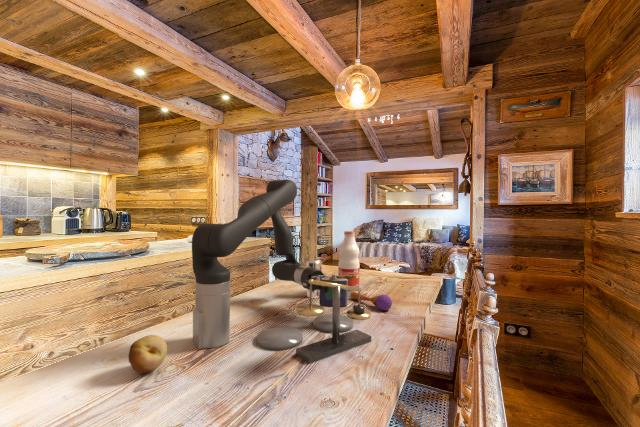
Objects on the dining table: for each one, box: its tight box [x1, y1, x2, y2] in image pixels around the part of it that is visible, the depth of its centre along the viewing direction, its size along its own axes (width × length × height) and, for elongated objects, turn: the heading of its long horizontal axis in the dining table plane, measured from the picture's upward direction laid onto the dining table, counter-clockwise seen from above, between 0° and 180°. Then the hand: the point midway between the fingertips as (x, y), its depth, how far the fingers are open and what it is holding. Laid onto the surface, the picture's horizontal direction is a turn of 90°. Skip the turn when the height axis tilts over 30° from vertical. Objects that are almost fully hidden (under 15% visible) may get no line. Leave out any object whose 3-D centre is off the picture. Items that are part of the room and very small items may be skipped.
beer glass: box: [305, 260, 323, 299], centre depth 133 cm, size 7×7×15 cm
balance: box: [295, 279, 372, 365], centre depth 85 cm, size 24×7×20 cm, turn 127°
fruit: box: [128, 334, 168, 374], centre depth 71 cm, size 8×8×8 cm
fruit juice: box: [337, 230, 361, 298], centre depth 138 cm, size 9×9×28 cm
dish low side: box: [312, 313, 354, 334], centre depth 101 cm, size 13×13×1 cm
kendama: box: [350, 291, 393, 312], centre depth 123 cm, size 6×6×20 cm
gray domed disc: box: [256, 326, 303, 351], centre depth 89 cm, size 13×13×1 cm
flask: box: [318, 273, 348, 308], centre depth 101 cm, size 9×3×11 cm, turn 87°
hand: (338, 287), depth 99 cm, fingers closed on flask, 7 cm apart
